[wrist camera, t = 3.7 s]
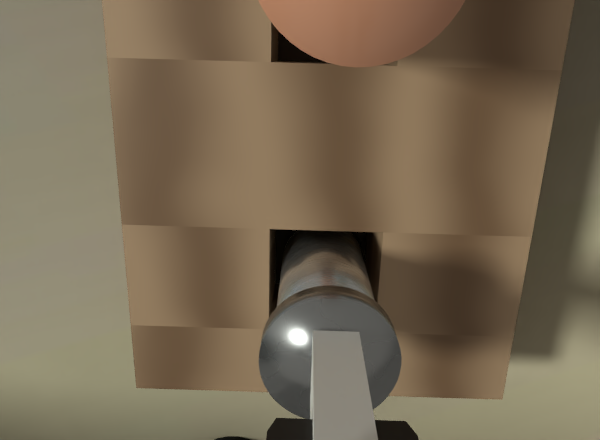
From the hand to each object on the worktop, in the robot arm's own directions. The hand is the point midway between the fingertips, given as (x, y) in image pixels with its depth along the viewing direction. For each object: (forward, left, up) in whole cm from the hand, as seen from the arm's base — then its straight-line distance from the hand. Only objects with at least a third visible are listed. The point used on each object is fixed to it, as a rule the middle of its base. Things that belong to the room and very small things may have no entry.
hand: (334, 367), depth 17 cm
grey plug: (0, 0, -9) cm, 9 cm away
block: (0, +6, -12) cm, 13 cm away
